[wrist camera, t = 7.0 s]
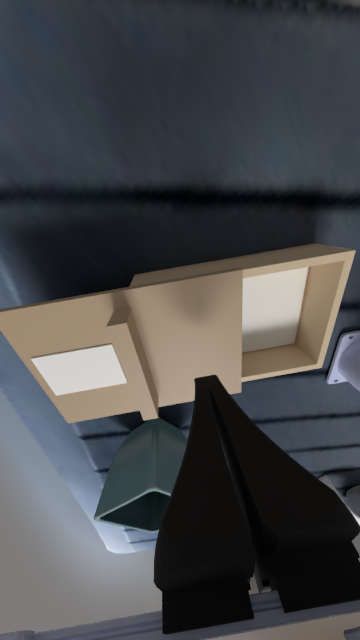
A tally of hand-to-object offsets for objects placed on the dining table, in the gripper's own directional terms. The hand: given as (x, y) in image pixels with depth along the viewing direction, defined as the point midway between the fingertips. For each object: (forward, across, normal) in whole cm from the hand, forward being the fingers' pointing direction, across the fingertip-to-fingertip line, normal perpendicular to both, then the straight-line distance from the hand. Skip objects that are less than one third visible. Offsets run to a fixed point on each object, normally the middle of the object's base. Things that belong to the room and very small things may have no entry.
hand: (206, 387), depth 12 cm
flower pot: (+9, +7, +17) cm, 20 cm away
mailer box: (+9, -4, 0) cm, 9 cm away
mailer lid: (+4, +5, 0) cm, 6 cm away
